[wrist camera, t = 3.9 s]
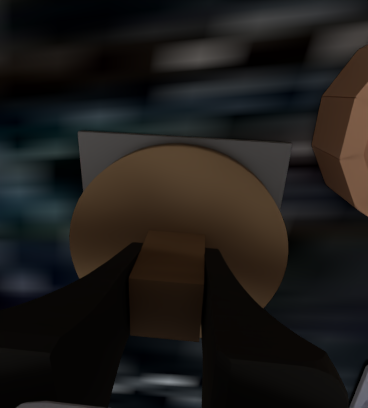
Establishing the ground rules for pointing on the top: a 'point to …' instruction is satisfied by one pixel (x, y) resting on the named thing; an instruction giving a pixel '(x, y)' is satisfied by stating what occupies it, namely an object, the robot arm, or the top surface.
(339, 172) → the bowl
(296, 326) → the top surface
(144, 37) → the top surface
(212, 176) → the lid
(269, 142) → the mat
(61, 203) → the top surface
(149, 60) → the top surface
